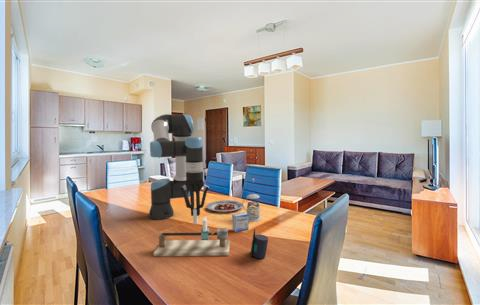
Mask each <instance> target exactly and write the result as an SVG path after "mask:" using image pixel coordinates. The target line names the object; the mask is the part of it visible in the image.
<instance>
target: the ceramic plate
mask: <svg viewBox="0 0 480 305" xmlns="http://www.w3.org/2000/svg"><path fill="white" fill-rule="evenodd" d="M242 203H243V202H241V201H237V200H230V199H229V200H227V199H226V200H217V201H213V202H210V203H208V204H207V205H206V208H207V209H208V210H210V211H214V212H220V213H228V212H233V211H237V210H240V209H243V208H244V207H243V206H244V205H243V206H242Z"/></svg>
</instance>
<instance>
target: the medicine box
mask: <svg viewBox="0 0 480 305" xmlns="http://www.w3.org/2000/svg"><path fill="white" fill-rule="evenodd" d="M231 218H232V219H231V223H232V226H231V227H232V228H231V229H232V230H233V232H235V233H239V232H240V233H241V232H243V231H244V232H245V231H249V226H250V225H249V222H250V221H248V214H247V212H239V213H233V214H231Z"/></svg>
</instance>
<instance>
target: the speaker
mask: <svg viewBox="0 0 480 305" xmlns="http://www.w3.org/2000/svg"><path fill="white" fill-rule="evenodd" d="M268 242H269V237H268V236H267V235H264V234H256V229H255V228H254V229H253V235H252V242H251V247H250V248H251V249H250V258H253V257H254V258H256V259H260V260H261V259H266V257H267V256H266V255H267V254H266V253H267V250H268Z"/></svg>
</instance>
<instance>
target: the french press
mask: <svg viewBox="0 0 480 305" xmlns="http://www.w3.org/2000/svg"><path fill="white" fill-rule="evenodd" d="M251 181H252V182H254V181H256V180H255V178H251ZM257 199H260V195H259V194H256V193H250V194H248V195H247V196H246V198H244V200H242V202H241V203H242V206H243V207H242V209H244V210H245V211H246V213H247V214H248V222H259V221H261V220H262V217H261V216H260V214H261V213H260V212H261V206H260V202H258V201H254V200H257ZM248 200H252V201H249V202H248ZM245 201H247V205H246V208H245V206H244V202H245Z"/></svg>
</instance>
